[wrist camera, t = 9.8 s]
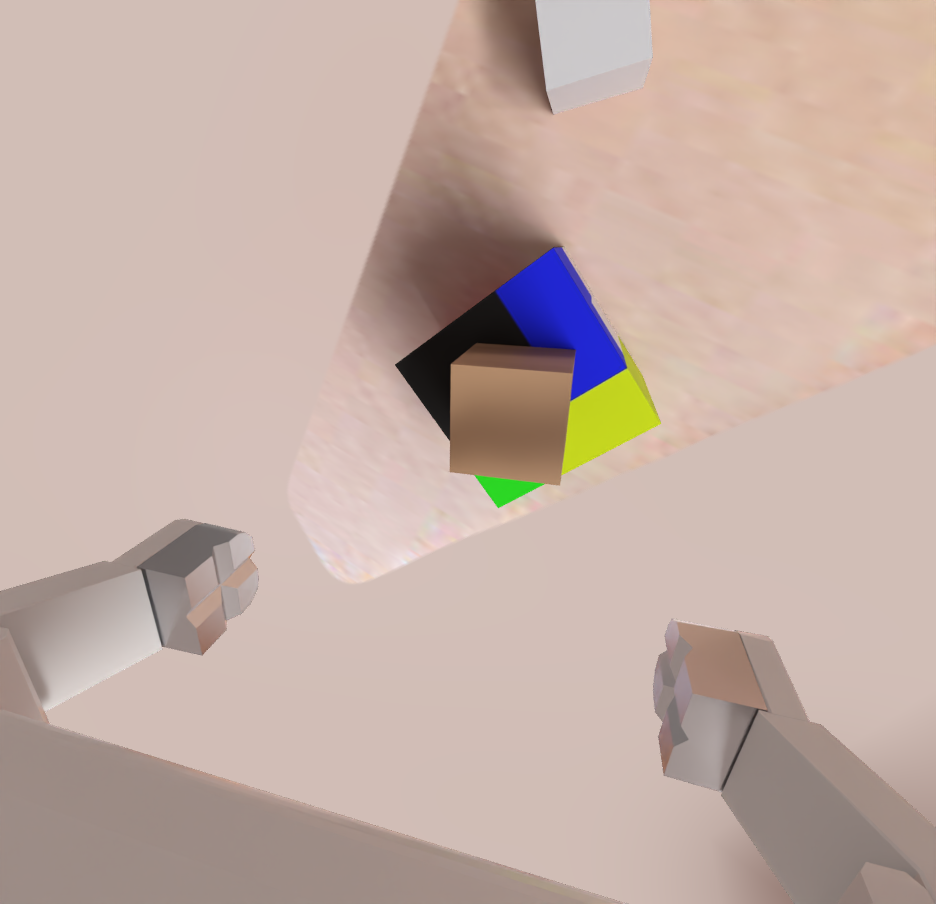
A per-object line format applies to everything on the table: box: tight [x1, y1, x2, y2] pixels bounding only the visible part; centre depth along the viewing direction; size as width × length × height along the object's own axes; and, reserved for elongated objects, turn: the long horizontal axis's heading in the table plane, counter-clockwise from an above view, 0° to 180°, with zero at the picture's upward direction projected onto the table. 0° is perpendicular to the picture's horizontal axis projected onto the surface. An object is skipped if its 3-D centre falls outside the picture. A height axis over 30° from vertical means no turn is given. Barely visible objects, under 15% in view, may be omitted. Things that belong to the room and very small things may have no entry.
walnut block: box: [450, 343, 576, 485], centre depth 23 cm, size 5×5×5 cm
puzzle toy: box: [395, 247, 661, 508], centre depth 30 cm, size 10×10×10 cm
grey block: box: [535, 0, 653, 115], centre depth 25 cm, size 5×5×5 cm
